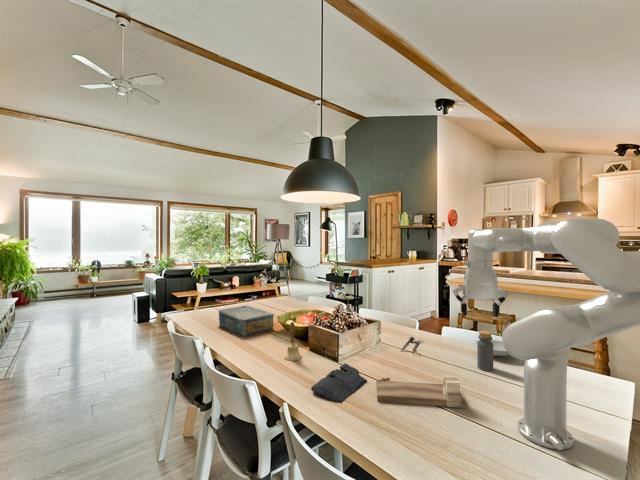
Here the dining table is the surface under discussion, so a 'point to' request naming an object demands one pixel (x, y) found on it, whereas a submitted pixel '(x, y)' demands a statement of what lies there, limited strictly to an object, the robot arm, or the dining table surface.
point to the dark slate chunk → (339, 383)
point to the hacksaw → (412, 342)
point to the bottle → (485, 351)
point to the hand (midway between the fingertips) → (479, 315)
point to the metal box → (246, 320)
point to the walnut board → (412, 393)
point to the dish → (498, 348)
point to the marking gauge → (452, 391)
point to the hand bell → (292, 347)
